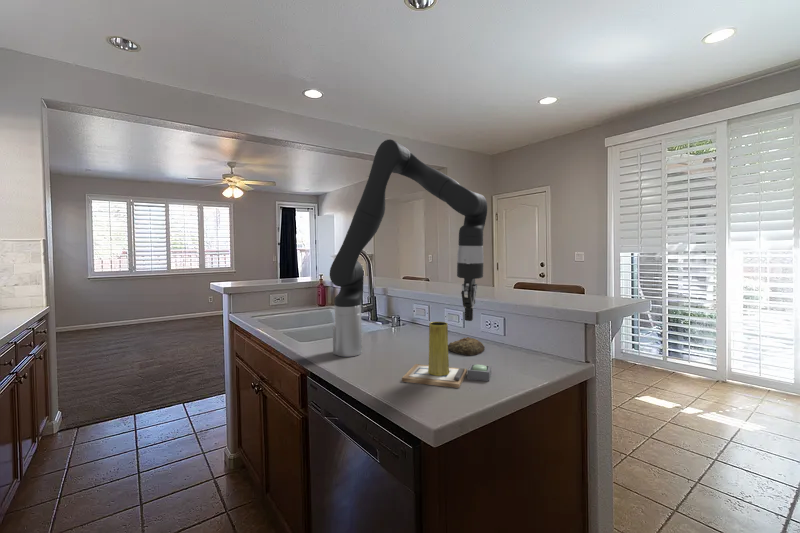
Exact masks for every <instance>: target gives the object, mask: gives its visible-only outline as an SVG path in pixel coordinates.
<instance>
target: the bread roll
mask: <svg viewBox="0 0 800 533" xmlns="http://www.w3.org/2000/svg"><path fill="white" fill-rule="evenodd" d="M485 349H486V348H485V345H484V344H483V343H482V342H481V341H480V340H478V339H476V338H471V337H470V336H467V337H463V338H460V339H459V340H458V339H457V340H454V341H452V342H449V343H448V352H449V351H450V352H452V353H455V354H459V355H464V356H477V355H478V354H479V355H480V354H482V353H483V352H485Z"/></svg>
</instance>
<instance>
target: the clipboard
mask: <svg viewBox="0 0 800 533" xmlns="http://www.w3.org/2000/svg"><path fill="white" fill-rule="evenodd" d="M428 367H429V364H419V363H418V364H417V363H415V364H414V365H413V366H412V367H411V368H410V369H409V370H408V371H407V372H406V373H405V374H404V375H403V376H402V377H401V382H405V383H414V384H421V385H428V386H429V385H430V386H437V387H446V388H455V389H456V388H457V389H460V387H461V386H462V383H463V381H464V379H465V377H466V376H467V370H468V369H467V368H461V367H450V366H449V374H447V375H444V376H435V375H431V374H429V373H428Z"/></svg>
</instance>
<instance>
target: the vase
mask: <svg viewBox="0 0 800 533" xmlns="http://www.w3.org/2000/svg"><path fill="white" fill-rule="evenodd" d="M428 327H429V328H428V335H429V337H428V365H429V367H428V373H429V374H431V375H435V376H444V375H447V374H449V367H450V364H449V361H450V360H449V350H448V345H449V339H448V338H449V336H448V335H449V330H448V327H449V326H448V323H447V322H445V321H431V322H429V325H428Z"/></svg>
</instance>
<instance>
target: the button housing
mask: <svg viewBox="0 0 800 533" xmlns="http://www.w3.org/2000/svg"><path fill="white" fill-rule="evenodd" d="M473 365H478V364H475V363H470V365H469V366H468V369H467V374H466V376H467V380H473V381H475V380H476V381H482V382H483V381H484V382H490V380H491V377H492V365H488V364H487V365H486V364H483V365H484V366H486V367H487V371H478V370H473Z"/></svg>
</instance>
